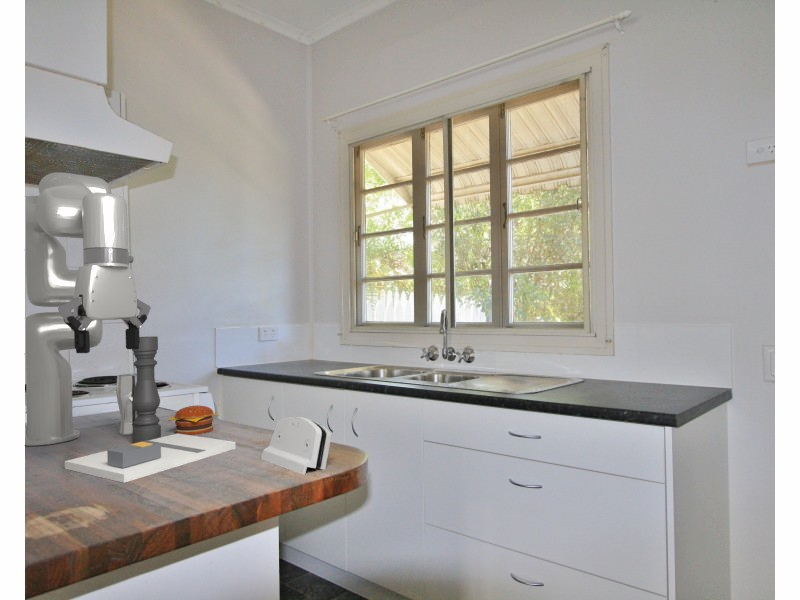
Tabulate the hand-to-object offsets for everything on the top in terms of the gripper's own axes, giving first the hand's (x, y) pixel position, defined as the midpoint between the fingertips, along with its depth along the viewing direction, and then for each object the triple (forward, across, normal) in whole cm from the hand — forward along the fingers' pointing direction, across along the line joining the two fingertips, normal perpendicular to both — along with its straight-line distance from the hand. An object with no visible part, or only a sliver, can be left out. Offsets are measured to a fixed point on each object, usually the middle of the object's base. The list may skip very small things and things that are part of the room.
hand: (108, 350), depth 101 cm
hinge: (+24, -23, +25) cm, 42 cm away
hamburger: (+24, -34, -18) cm, 45 cm away
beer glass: (+23, -26, -33) cm, 48 cm away
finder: (+22, -6, -1) cm, 23 cm away
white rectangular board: (+24, -13, -5) cm, 27 cm away
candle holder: (+23, -22, -21) cm, 38 cm away
